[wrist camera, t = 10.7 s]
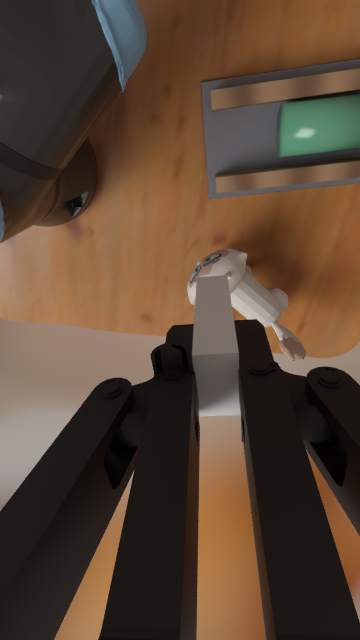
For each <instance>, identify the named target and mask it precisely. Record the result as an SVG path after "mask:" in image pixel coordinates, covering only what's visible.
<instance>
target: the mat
mask: <svg viewBox="0 0 360 640" xmlns="http://www.w3.org/2000/svg"><path fill="white" fill-rule="evenodd" d="M358 68H360V59H353V60H347V61H340V62H333V63H327V64H320V65H313V66H307V67H300V68H294V69H287V70H280V71H274V72H267V73H260V74H254V75H247V76H241V77H234V78H227V79H221V80H214V81H208V82H201V91H202V105H203V120H204V134H205V148H206V163H207V177H208V191H209V199H214V198H223V197H233V196H242V195H251V194H260V193H269V192H278V191H287V190H297V189H306V188H315V187H324V186H333V185H342V184H351V183H360V177H358V178H349V179H340V180H331V181H322V182H313V183H304V184H295V185H286V186H277V187H268V188H260V189H251V190H242V191H233V192H224V193H217V192H216V183H215V174H222V173H230V172H239V171H247V170H256V169H264V168H273V167H281V166H290V165H298V164H307V163H315V162H324V161H332V160H340V159H349V158H357V157H360V149H352V150H342V151H332V152H323V153H313V154H304V155H294V156H285V157H279V156H278V152H277V144H276V129H277V118H278V112H279V108H280V105H281V103H286V102H295V101H303V100H311V99H319V98H327V97H336V96H344V95H352V94H360V91H354V92H347V93H340V94H333V95H326V96H318V97H311V98H304V99H297V100H290V101H283V102H276V103H269V104H261V105H254V106H247V107H240V108H233V109H226V110H219V111H212V112H211V98H210V91H211V90H216V89H223V88H230V87H236V86H243V85H250V84H257V83H264V82H270V81H277V80H284V79H291V78H297V77H304V76H311V75H318V74H324V73H331V72H338V71H345V70H351V69H358Z"/></svg>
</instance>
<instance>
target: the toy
mask: <svg viewBox="0 0 360 640" xmlns="http://www.w3.org/2000/svg"><path fill="white" fill-rule="evenodd" d="M246 259H247V253H243V252H240V251H238V250H235V249H223V250H219V251H216V252H214V253H212V254H210V255H208V256H207V257H206V258H204V259H203V260H202V261H199V262H198V263H197V266H196V268H195V269H194V271H193V272H192V274H191V276H190V279H189V282H188V286H187V291H188V296H189V301H190V302H191V304H194V307H195V298H196V282H197V277H208V276H220V275H227V277H228V284H229V291H230V297H231V304H232V307H234V308H235V309H236V310H237V311H238V312H240V313H241V314H242V315H243V316H245V317H246V318H247V320H250V319H257V320H258V321H259V322H260V323H262V324H263V325H264V327H270V326H272V327H273V328H274V330H275V331H276V333H277V335H278V337H279V340H280V348H281V350H282V351H283V352H284V354H285V355H287V356H288V357H289V358H290V359H291V360H293V361H294V360H295V359H297V360H300V359H303V360H304V357H305V354H306V351H305V348H304V346H303V344H302V343H301V341H300V340H299V339H298V338H297V337H296V336H295V335H294V334H293V333H292V332H291V331H289V330H288V329H286V328H285V327H283V326H281V325H279V324H278V323H277V322H278V321H279V319H280V316H281V311H283V310H285V309H286V308H287V306H288V296H287V294H286V293H285V292H284V291H283V290H280V289H277V288H274V289H270V290H266V289H265V288H264V287H263V286H262V285H261V284H260V283H259V282H257V281H256V280H255V279H254V277H253V274H252V271H251V268H250V265H248V264H246Z"/></svg>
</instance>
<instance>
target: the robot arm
mask: <svg viewBox="0 0 360 640" xmlns="http://www.w3.org/2000/svg"><path fill="white" fill-rule="evenodd" d="M146 41H147V31H146V24H145V21H144V18H143V15H142V12H141V10H140V7H139V5H138V3H137V1H136V0H0V243H2V242H4V241H5V240H7V239H9V238H11V237H13V236H14V235H16V234H18V233H20V232H22V231H23V230H25V229H27V228H29V227H31V226H32V225H36V226H57V225H61V224H64V223H66V222H69V221H70V220H72V219H74V218H75V217H77V216H78V215H79V214H81V213H82V212H83V211H84V210H85V209H86V208H87V206H88V205H89V203H90V202H91V200H92V198H93V195H94V192H95V189H96V184H97V164H96V159H95V155H94V152H93V149H92V146H91V144H90V142H89V140H88V138H87V137H88V135H89V134H90V132H91V131H92V130H93V128H94V127H95V126H96V124H97V123H98V121H99V120H100V119H101V117H102V116H103V114H104V113H105V112H106V110H107V109H108V107H109V106H110V105H111V103H112V102H113V100H114V99H115V98H116V96H117V95H118V94H121V93H122V92H123V91H124V90H125V86H126V82H127V80H128V79H129V77H130V75H131V74H132V72H133V71H134V69H135V68H136V66H137V65H138V63H139V62H140V60H141V58H142V57H143V55H144V52H145V50H146ZM151 360H152V364H153V370H154V377H153V378H152V379H150V380H148V381H146V382H143V383H140V384H137V385H133V386H132V385H131V383H130V382H129V381H128V380H127V379H123V378H112V379H108V380H105V381H103V382H102V383H100V384H99V385H98V386H97V387H95V388H94V390H93V391H92V392H91V394H90V395H89V396H88V397H87V399H86V400H85V401H84V403H83V404H82V405H81V407H80V408H79V409H78V411H77V412H76V413H75V415H74V416H73V417H72V418H71V420H70V421H69V422H68V424H67V425H66V426H65V428H64V429H63V430H62V431H61V433H60V434H59V435H58V437H57V438H56V439H55V441H54V442H53V443H52V445H51V446H50V447H49V448H48V450H47V451H46V452H45V454H44V455H43V456H42V458H41V459H40V460H39V462H38V463H37V464H36V466H35V467H34V468H33V470H32V471H31V472H30V473H29V475H28V476H27V477H26V479H25V480H24V481H23V483H22V484H21V485H20V487H19V488H18V489H17V490H16V492H15V493H14V495H13V496H12V497H11V498H10V499H9V501H8V502H7V503H6V505H5V506H4V507H3V509H2V510H1V511H0V640H54V638H55V636H56V634H57V632H58V630H59V628H60V625H61V623H62V621H63V619H64V617H65V615H66V613H67V610H68V608H69V606H70V604H71V602H72V600H73V598H74V596H75V594H76V592H77V589H78V587H79V585H80V583H81V581H82V579H83V577H84V575H85V573H86V570H87V568H88V566H89V564H90V562H91V560H92V558H93V556H94V554H95V552H96V549H97V547H98V545H99V543H100V541H101V539H102V537H103V534H104V533H105V530H106V528H107V526H108V524H109V522H110V520H111V518H112V516H113V514H114V511H115V509H116V507H117V505H118V503H119V501H120V499H121V497H122V495H123V492H124V490H125V488H126V486H127V484H128V482H129V480H130V478H131V476H132V473H133V471H134V475H133V480H132V485H131V489H130V494H129V499H128V504H127V509H126V514H125V519H124V523H123V528H122V533H121V538H120V543H119V548H118V552H117V557H116V562H115V567H114V572H113V576H112V581H111V586H110V591H109V595H108V600H107V605H106V611H105V615H104V620H103V624H102V629H101V633H100V636H99V639H98V640H196V628H197V567H198V566H197V565H198V562H197V561H198V508H199V446H200V443H199V442H200V425H199V416H220V415H221V416H222V415H241V429H242V442H243V444H244V453H245V462H246V471H247V479H248V488H249V495H250V505H251V513H252V522H253V530H254V539H255V548H256V556H257V564H258V573H259V582H260V590H261V599H262V607H263V616H264V625H265V633H266V640H360V622H359V619H358V616H357V612H356V609H355V606H354V603H353V599H352V596H351V593H350V590H349V587H348V583H347V580H346V577H345V574H344V571H343V567H342V564H341V561H340V558H339V555H338V551H337V548H336V545H335V542H334V538H333V535H332V532H331V529H330V526H329V522H328V519H327V516H326V513H325V509H324V506H323V503H322V500H321V497H320V493H319V490H318V487H317V484H316V480H315V477H314V474H313V471H312V468H311V464H310V461H309V458H308V455H307V452H306V449H307V451H308V453H309V455H310V456H311V458H312V459H313V461H314V463H315V464H316V466H317V467H318V469H319V471H320V472H321V474H322V476H323V477H324V479H325V480H326V482H327V483H328V485H329V487H330V489H331V490H332V492H333V493H334V495H335V497H336V498H337V500H338V502H339V503H340V505H341V506H342V508H343V509H344V511H345V513H346V514H347V516H348V518H349V519H350V521H351V523H352V524H353V526H354V527H355V529H356V531H357V532H358V534H359V536H360V385H359V384H358V383H357V382H356V381H355V380H354V379H353V378H352V377H351V376H350V375H348V374H347V373H346V372H344V371H342V370H339V369H337V368H332V367H317V368H315V369H312V370H311V371H310V372H309V373H308V374H307V377H305V376H299V375H294V374H290V373H287V372H285V371H283V370H282V369H281V368H280V366H279V365H278V363H276V362H275V361H274V359H273V356H272V352H271V349H270V345H269V342H268V340H267V335H266V332H265V329H264V325H263V324H262V323H260V322H259V321H258V320H257V319H250V320H235V321H234V317H233V311H232V304H231V297H230V291H229V284H228V277H227V275H220V276H208V277H197V282H196V298H195V314H194V324H187V325H173V326H172V327H171V329H170V330H169V331H168V332H167V337H166V342H165V344H163V345H160V346H158V347H156V348H155V349H154V350H153V351H152V353H151ZM134 469H135V470H134Z"/></svg>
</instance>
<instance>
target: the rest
mask: <svg viewBox="0 0 360 640" xmlns="http://www.w3.org/2000/svg"><path fill="white" fill-rule="evenodd" d="M354 91H360V68H358V69H351V70H345V71H338V72H331V73H324V74H318V75H311V76H304V77H297V78H291V79H284V80H277V81H270V82H264V83H257V84H250V85H243V86H236V87H230V88H223V89H216V90H211V91H210V98H211V112H212V111H219V110H226V109H233V108H240V107H247V106H254V105H261V104H269V103H276V102H283V101H290V100H297V99H304V98H311V97H318V96H326V95H333V94H340V93H347V92H354ZM358 177H360V157H357V158H349V159H340V160H332V161H324V162H315V163H307V164H298V165H290V166H281V167H273V168H264V169H256V170H247V171H239V172H230V173H222V174H215V183H216V192H217V193H224V192H233V191H242V190H251V189H260V188H268V187H277V186H286V185H295V184H304V183H313V182H322V181H331V180H340V179H349V178H358Z"/></svg>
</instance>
